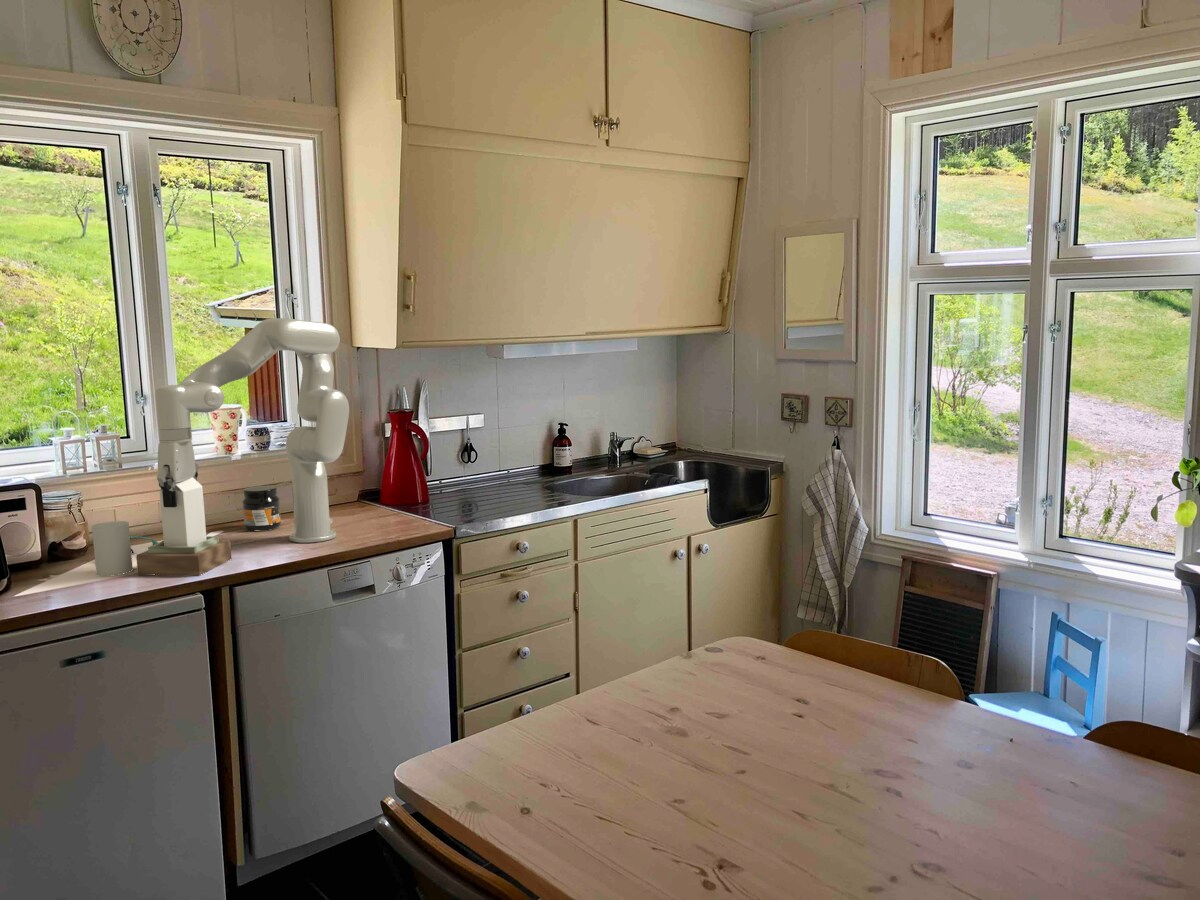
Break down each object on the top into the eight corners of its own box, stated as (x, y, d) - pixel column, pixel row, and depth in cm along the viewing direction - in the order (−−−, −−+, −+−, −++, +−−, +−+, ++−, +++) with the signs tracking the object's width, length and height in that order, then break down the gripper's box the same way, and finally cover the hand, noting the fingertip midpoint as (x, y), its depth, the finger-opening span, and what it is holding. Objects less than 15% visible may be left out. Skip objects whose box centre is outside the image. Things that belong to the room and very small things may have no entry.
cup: (139, 567, 246) (135, 521, 245) (120, 576, 238) (116, 528, 237) (108, 567, 247) (104, 521, 246) (89, 576, 239) (84, 528, 237)
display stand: (173, 558, 255) (171, 534, 254) (231, 559, 253) (229, 534, 252) (137, 575, 239) (135, 549, 238) (199, 575, 237) (197, 549, 236)
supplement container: (260, 533, 283) (257, 492, 281) (236, 529, 289) (233, 489, 287) (289, 526, 292) (286, 486, 290) (265, 523, 297) (262, 484, 296)
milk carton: (207, 544, 248) (201, 470, 245) (187, 551, 241) (181, 475, 238) (183, 543, 250) (177, 470, 247) (164, 549, 243) (157, 474, 240)
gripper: (179, 431, 250) (185, 496, 253) (140, 439, 233) (147, 510, 236) (207, 430, 249) (212, 496, 252) (170, 439, 232) (176, 510, 235)
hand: (181, 503), depth 244 cm, fingers open, 9 cm apart
